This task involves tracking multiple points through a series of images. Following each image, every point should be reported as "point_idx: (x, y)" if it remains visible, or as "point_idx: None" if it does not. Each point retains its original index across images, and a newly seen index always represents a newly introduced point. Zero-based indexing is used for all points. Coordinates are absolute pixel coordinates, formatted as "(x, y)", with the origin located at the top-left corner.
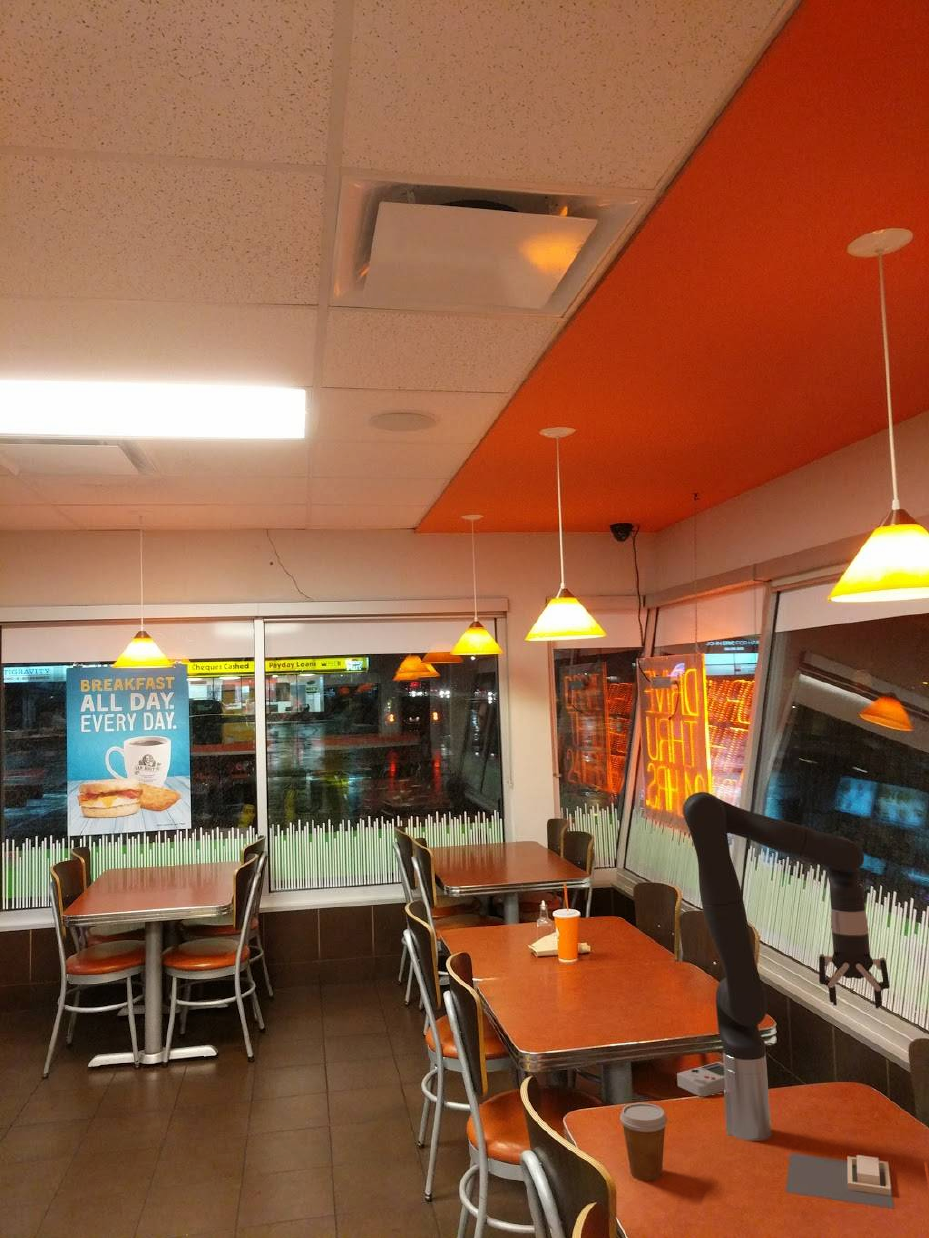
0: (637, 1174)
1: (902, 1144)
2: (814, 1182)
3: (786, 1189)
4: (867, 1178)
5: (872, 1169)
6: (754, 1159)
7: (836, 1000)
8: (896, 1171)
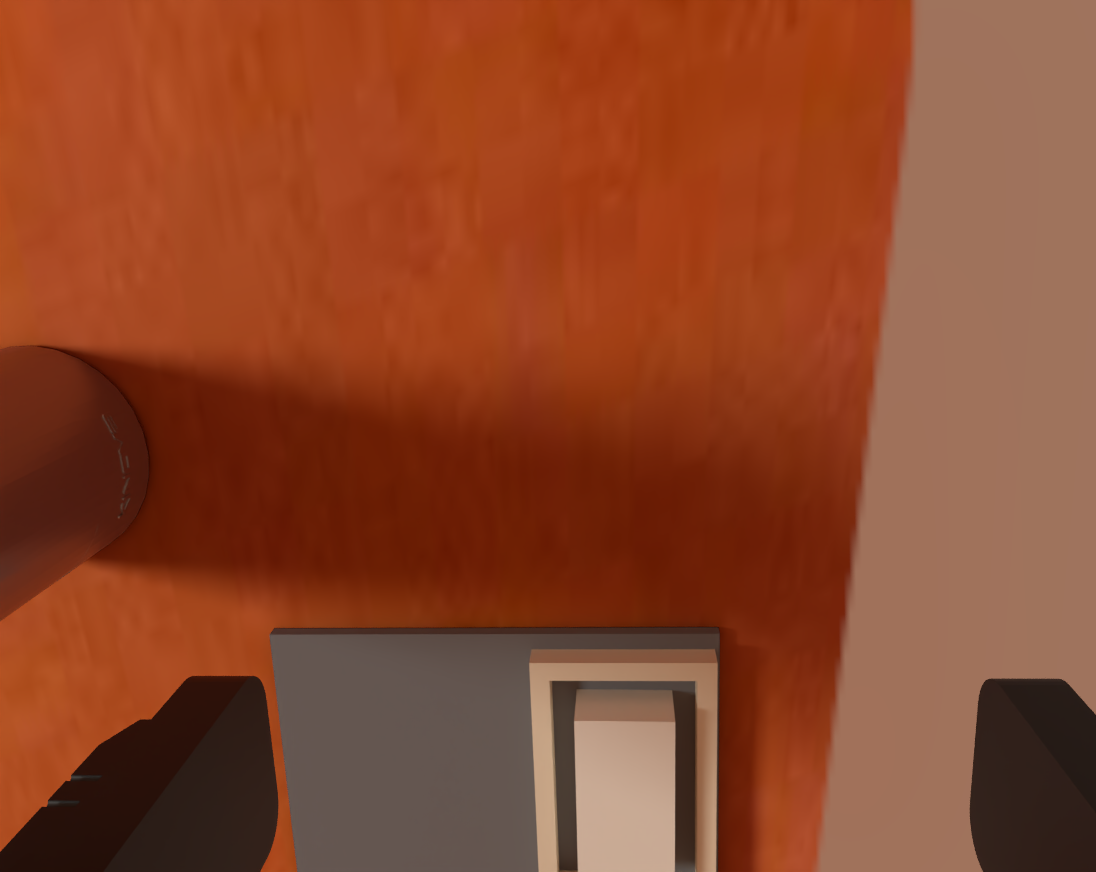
0: None
1: (800, 314)
2: (406, 867)
3: None
4: None
5: (645, 840)
6: (132, 707)
7: (243, 753)
8: (747, 631)
